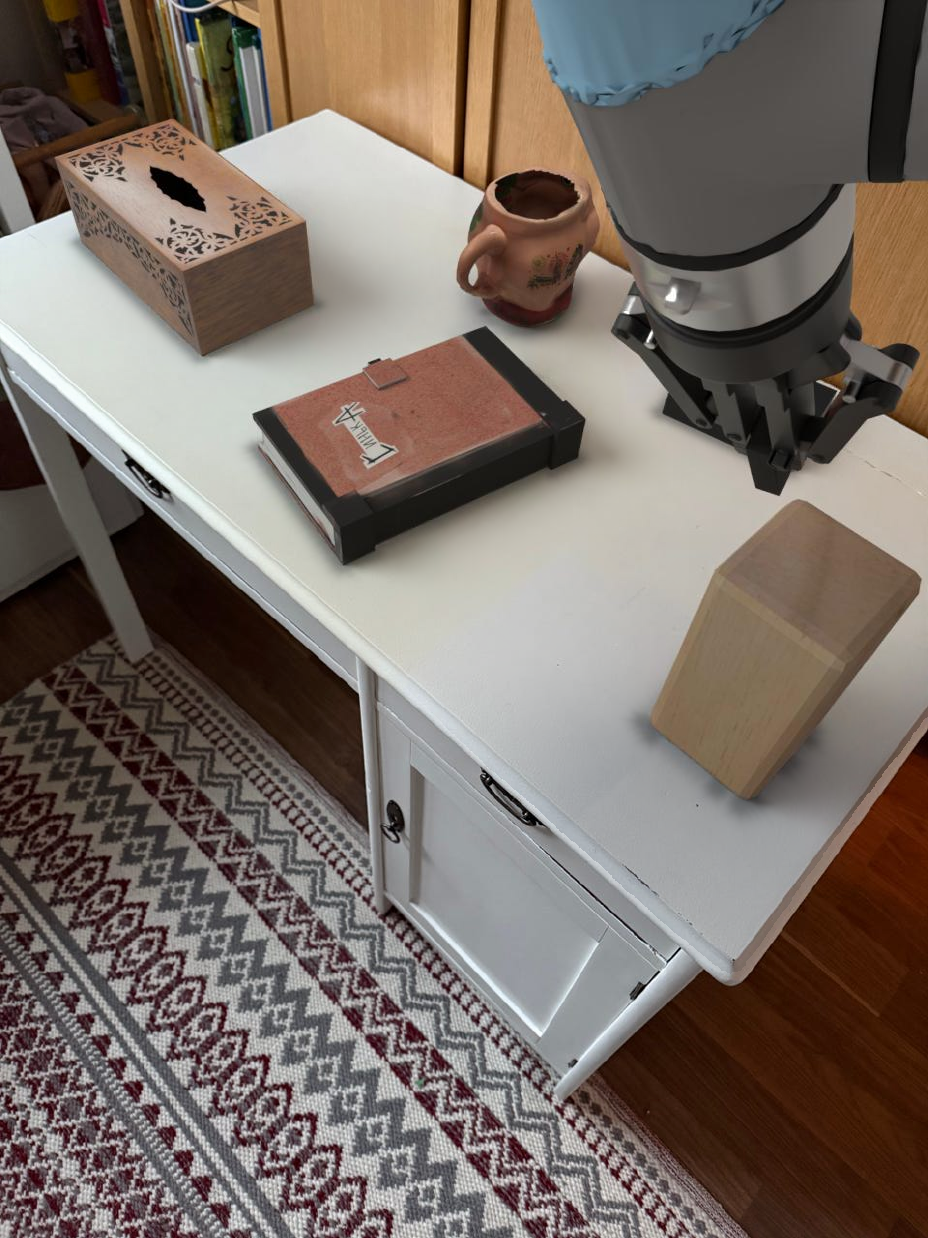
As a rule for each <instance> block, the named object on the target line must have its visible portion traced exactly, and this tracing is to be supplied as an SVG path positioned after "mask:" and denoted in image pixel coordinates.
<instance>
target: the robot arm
mask: <svg viewBox="0 0 928 1238" xmlns="http://www.w3.org/2000/svg"><path fill="white" fill-rule="evenodd" d="M530 3H531V5H532V9H533V12H534V16H535V20H536V23H537V26H538V29H539V32H540V33H539V38H540V40H541V42H542V44H543V46H542V47H543V48H542V55H541V57H542V59H543V62H544V64H545V66H546V69H547V70H548V74H549V76H550V78H551V82H552V83H553V84H556V87H557V88H558V90H559V91H560V93H561V94H562V97H563V99H564V101H565V103H566V106H567V108H568V110H569V112H570V115H571V117H572V119H573V121H574V124H575V126H576V129H577V131H578V133H579V136H580V138H581V141H582V143H583V146H584V148H585V150H586V153H587V156H588V158H589V160H590V163H591V165H592V168H593V170H594V172H595V176H596V178H597V180H598V183H599V185H600V190H601V192H602V194H603V197H604V200H605V207H606V209H607V211H608V213H609V217H610V220H611V222H612V225H613V227H614V231H615V233H616V235H617V238H618V240H619V244H620V246H621V248H622V251H623V254H624V256H625V259H626V261H627V264H628V266H629V269H630V272H631V274H632V277H633V279H634V281H633V282H632V284H631V286H630V288H629V291H628V292H627V295H626V297H625V299H624V301H623V303H622V305H621V306H620V310H619V311H618V314H617V316H616V318H615V321H613V324H612V326H611V329H610V333H611V334H612V335H613V336H614V337H615V338H616V339H618V340H619V341H620V342H622V343H623V344H624V345H625V346H627V347H628V348H629V349H630V350H631V351H633V352H635V354H636V355H638V356H639V358H641V360H642V361H643V363H644V364H645V365H646V366H647V368H648V369H649V370H650V371H651V372H652V374H653V375H654V377H656V379H657V380H658V381H659V383H660V384H661V385H662V386H663V388H664V389H665V390H666V392H667V393H669V394H670V395H671V396H672V397H673V399H674V400H675V401H676V402H677V404H678V405H679V406H680V407H681V409H682V410H683V411H684V412H685V414H686V415H687V416H688V417H689V419H690V420H691V421H692V422H693V423H694V424H696V425H697V426H698V427H701V428H707V429H710V428H712V426H713V424H714V423H716V424H719V425H721V426H722V428H723V432H724V435H725V436H726V437H727V438H729V439H730V440H731V441H732V442H733V445H734V446H733V449H734V450H735V451H736V452H737V453H738V454H739V455H743V456H746V457H747V461H748V464H749V469H750V473H751V477H752V481H753V486H754V489H756V490H758V491H762V492H766V493H768V494H771V495H774V496H776V497H777V496H778V497H781V494H782V492H783V490H784V488H785V486H786V484H787V482H788V479H789V477H790V475H791V473H792V471H796V472H799V471H802V469H803V467H804V466H805V463H806V462H807V459H810V460H811V461H812V462H814V463H816V464H820V465H830V464H831V463H832V462H833V461H834V460H835V458H836V457H837V456H838V454H840V452H841V451H842V450H843V449H844V448H845V446H846V445H847V444H848V443H849V442H850V441H851V440H852V438H854V436H855V435H856V434H857V432H858V431H859V430H860V429H861V427H862V426H863V425H864V424H866V422H867V420H870V419H873V418H876V417H880V416H883V415H886V414H889V413H890V414H891V413H893V412H894V411H896V409H897V406H898V404H899V402H900V400H901V398H902V396H903V393H904V391H905V388H906V387H907V384H908V382H909V381H910V378H911V376H912V374H913V372H914V370H915V368H916V366H917V363H918V361H919V359H920V357H921V353H920V351H919V349H917V348H916V347H914V346H913V345H911V344H907V343H899V342H896V343H891V344H889V345H887V346H884V347H882V348H880V347H879V346H877V345H875V344H868V343H865V342H864V341H863V340H862V338H863V327H862V324H861V322H860V320H859V318H857V317H856V315H854V313H853V312H852V310H851V303H852V302H851V301H852V295H853V294H852V293H853V282H854V281H853V278H854V251H855V250H854V247H855V230H854V229H855V219H856V208H857V207H856V204H857V203H856V193H857V191H856V190H857V188H856V187H857V186H856V184H866V183H872V184H903V183H906V182H928V0H530ZM841 373H843V377H842V378H841V383H843V384H844V385H843V386H842V388H841V389H840V390H839V392H838V394H836V395H835V397H834V399H833V401H832V403H831V405H830V407H829V408H828V409H827V411H826V413H825V415H824V417H819V416H814V415H815V404H814V386H813V382H818V381H821V380H825V379H827V378H831V377H833V376H837V375H839V374H841ZM762 406H764V409H763V411H762Z"/></svg>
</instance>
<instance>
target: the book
mask: <svg viewBox="0 0 928 1238" xmlns="http://www.w3.org/2000/svg"><path fill="white" fill-rule="evenodd" d="M361 370H362V372H359V373H356V374H354V375H351V376H348V377H345V378H343V379H340V380H338V381H337V380H336V381H334V382H332V383H329V384H327V385H324V386H322V387H319V388H316V389H314V390H311V391H309V392H306V393H303V394H300V395H298V396H294V397H293V398H290V399H287V400H284V401H282V402H279V403H276V404H274V405H271V406H268V407H266V408H263V409H261V410H258V411H255V412H253V413H252V414H251V415H252V419H253V421H254V423H255V424H256V425H257V426H258V428H259V429H260V431H261V434H262V441H261V442H258V443H257V449H258V450H259V451H260V453H261V454H262V456H263V458H265V460H266V461H267V463H268V464H269V465H270V467H271V469H272V470H273V471H274V472H275V474H276V475H277V477H278V478H279V479H280V480H281V482H282V483H283V485H284V486H285V488H286V489H287V490H288V492H289V493H290V494H291V495H292V498H293V499H294V500H295V501H296V503H297V504H298V505H299V507H300V508H301V509H302V512H304V513H305V515H306V516H307V517H308V519H309V520H310V522H311V523H312V524H313V526H314V527H315V528H316V530H317V531H318V532H319V534H320V536H321V537H322V538H323V539H324V541H325V542H326V544H327V545H328V546H329V548H330V549H331V550H332V552H333V554H334V555H335V556H336V557H337V558H338V560H339V562H340V563H341V564H342V565H343V566H345V565H347V564H349V563H351V562H354V561H355V560H358V559H360V558H362V557H365V556H366V555H369V554H371V553H373V552H376V546H377V545H379V544H380V543H383V542H385V541H387V540H389V539H391V538H394V537H397V536H398V535H400V534H402V533H405V532H407V531H409V530H411V529H414V528H415V527H418V526H420V525H422V524H424V523H427V522H429V521H431V520H433V519H435V518H437V517H439V516H442V515H444V514H447V513H448V512H450V511H453V510H455V509H457V508H460V507H463V506H465V505H466V504H468V503H471V502H474V501H475V500H477V499H480V498H482V497H483V496H486V495H489V494H490V493H492V492H495V491H496V490H499V489H501V488H504V487H506V486H508V485H510V484H513V483H514V482H517V481H519V480H521V479H524V478H525V477H527V476H530V475H532V474H534V473H536V472H539V471H540V470H543V469H545V468H547V467H548V468H549V469H550V470H554V469H556V468H558V467H560V466H563V465H565V464H567V463H569V462H571V461H573V460H576V459H578V458H579V455H580V449H581V445H582V440H583V435H584V430H585V425H586V420H587V418H586V417H584V415H582V414H581V412H579V411H578V409H576V407H574V406H573V405H572V404H571V403H570V401H568V399H564V400H563V399H562V398H560V396H558V394H557V393H555V392H554V391H553V390H552V389H551V388H550V387H549V386H548V385H547V384H546V383H545V382H544V381H543V380H542V379H541V378H540V377H539V376H538V375H537V374H536V373H535V372H534V371H533V370H532V369H531V368H530V367H528V365H527V364H526V363H524V362H523V361H522V360H521V358H520V357H519V356H518V355H517V354H516V353H514V351H512V350H511V348H509V347H508V346H507V345H506V344H505V342H503V341H502V339H500V338H499V337H498V336H497V335H496V334H495V333H494V332H493V331H492V330H491V329H490V328H489V327H488V326H487V325H483V326H481V327H478V328H476V329H473V330H470V331H468V332H465V333H462V334H459V335H457V336H454V337H452V338H451V337H450V338H449V339H447V340H444V341H441V342H438V343H436V344H433V345H431V346H427V347H426V348H422V349H419V350H416V351H414V352H412V353H409V354H407V355H403V356H402V357H399V358H396V359H392V358H391V357H388V358H385V359H381V358H380V357H379V358H376V359H373V360H370V361H368V362H367V366H365V367H364V366H363V367H362V369H361Z"/></svg>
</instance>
